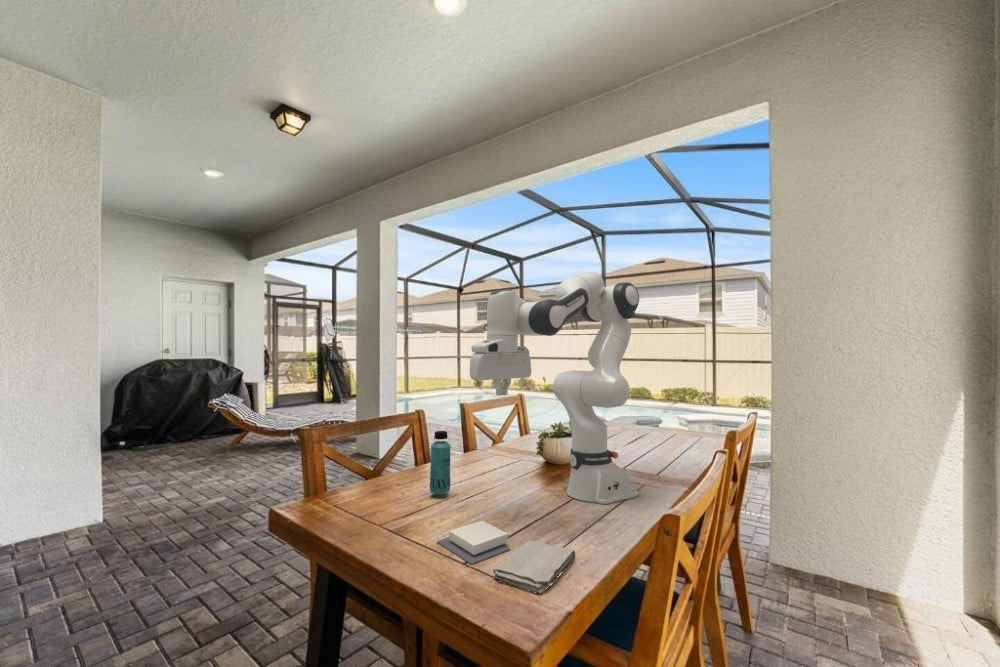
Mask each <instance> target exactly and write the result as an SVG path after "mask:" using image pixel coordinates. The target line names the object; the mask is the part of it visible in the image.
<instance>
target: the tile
mask: <svg viewBox="0 0 1000 667" xmlns="http://www.w3.org/2000/svg"><path fill="white" fill-rule="evenodd" d="M448 537H449V540H451V542H453V543H454V544H456V545H457V546H459V547H461V548H462V549H464V550H465V551H467V552H469V553H470V554H472V555H473V556H475V555H478V554H481V553H483V552H486V551H489V550H492V549H494V548H497V547H500V546H502V545H504V546H506V544H507V543H509V533H508V532H505V531H504V530H501V529H500V528H498V527H496V526H494V525H492V524H490V523H488V522H486V521H485V520H479V521H477V522H474V523H473V522H472V523H470V524H466V525H463V526H461V527H458V528H454V529H450V530H448Z"/></svg>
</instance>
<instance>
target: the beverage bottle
mask: <svg viewBox="0 0 1000 667" xmlns="http://www.w3.org/2000/svg"><path fill="white" fill-rule="evenodd" d="M433 437H434V438H433V439H435V440H438V441H435V442H433V443H432V444H431V445H430V468H429V470H430V471H429V475H430V476H429V492H430V493H431V494H435V495H444V494H447V493H449V492H450V490H451V448H452V447H451V444H450V443H449V441H446V440H447V439H448V431H446V430H437V431H434V436H433Z"/></svg>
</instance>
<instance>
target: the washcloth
mask: <svg viewBox="0 0 1000 667" xmlns="http://www.w3.org/2000/svg"><path fill="white" fill-rule="evenodd" d="M575 558H576V550H575V549H572V548H568V547H563V546H555V545H550V544H547V543H545V542H542V541H541V542H540V541H537V540H536V541H535V540H531V539H530V540H527V541H526V542H524V543H523V544H522V545H521V546H519V547H518V548H517V549H515V550H514V551H513V552H511V554H509V555H508V556H507V557H506V558H505V559H503V561H501V562H500V563H498V564H497V565H496V566H494V568H493V569H492V573H493V574H494V576H493V577H492V579H493V580H499V581H498V582H500V581H501V582H503V583H502V584H504V583H507V584H510V585H513V586H516V587H515V588H517V587H520V588H522V589H521V590H523V589H525V590H524V591H526V590H529V591H532V592H536V593H539V594H538V595H541V594H542V593H544V592H546V591H547V590H546V588H547V587H548V586H549V584H550V583H553V582H555V583H556V582H557V580H558V579H559V578H558V577H557V576H559V574H560V573H561V572H563V571H564V570H565V569H567V568H568V567H569V566H570V565H571V564H572V563H573V561H575ZM571 562H572V563H571ZM569 564H570V565H569ZM568 565H569V566H568ZM567 566H568V567H567ZM566 567H567V568H566ZM565 571H566V570H565ZM565 571H564V572H565ZM564 572H563V573H564ZM557 578H558V579H557ZM556 579H557V580H556ZM501 582H500V583H501ZM507 584H506V585H507ZM510 585H509V586H510ZM513 586H512V587H513ZM520 588H519V589H520ZM545 590H546V591H545ZM529 591H528V592H529ZM543 591H544V592H543ZM532 592H531V593H532ZM536 593H535V594H536Z"/></svg>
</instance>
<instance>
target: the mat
mask: <svg viewBox="0 0 1000 667" xmlns="http://www.w3.org/2000/svg"><path fill="white" fill-rule="evenodd" d="M436 543H437V544H438V545H440V546H442V547H443V546H444V547H443V548H445V549H446V548H447V549H446V550H448V551H449V550H450V551H449V552H451V553H452V552H453V553H452V554H454V555H455V554H456V555H455V556H457V557H458V556H459V557H458V558H459V559H461V558H462V561H464V560H465V562H466V563H468V564H469V563H470V566H473V565H475V564H474V563H476V562H478V563H480V561H481V562H483V561H485V559H486V560H489V559H491V558H494V557H495V556H498V555H502V554H504V553H506V551H507V552H509V551H511V548H510V547H507V546H506V545H502V546H500V547H497V548H494V549H492V550H489V551H486V552H483V553H481V554H478V555H475V556H473V555H472V554H470V553H469V552H467V551H465V550H464V549H462V548H461V547H459V546H457V545H456V544H454V543H453V542H451V540H449V536H448V537H445V538H443V539H439V540H437V541H436ZM482 560H483V561H482ZM472 564H473V565H472ZM476 564H477V563H476Z"/></svg>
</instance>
